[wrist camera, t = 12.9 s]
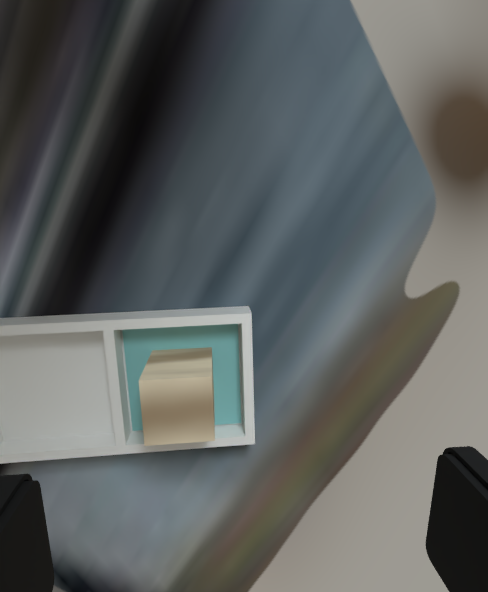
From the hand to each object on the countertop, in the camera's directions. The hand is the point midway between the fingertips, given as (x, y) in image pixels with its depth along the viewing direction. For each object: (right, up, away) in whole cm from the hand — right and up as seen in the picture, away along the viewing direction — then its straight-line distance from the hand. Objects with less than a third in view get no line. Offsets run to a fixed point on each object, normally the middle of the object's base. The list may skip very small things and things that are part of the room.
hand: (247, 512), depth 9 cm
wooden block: (-5, -2, +23) cm, 24 cm away
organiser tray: (-11, -2, +24) cm, 26 cm away
